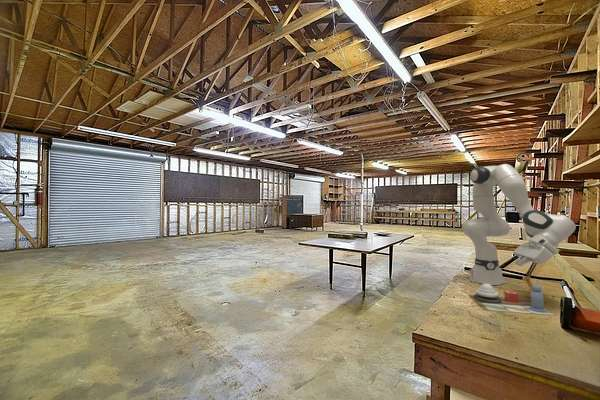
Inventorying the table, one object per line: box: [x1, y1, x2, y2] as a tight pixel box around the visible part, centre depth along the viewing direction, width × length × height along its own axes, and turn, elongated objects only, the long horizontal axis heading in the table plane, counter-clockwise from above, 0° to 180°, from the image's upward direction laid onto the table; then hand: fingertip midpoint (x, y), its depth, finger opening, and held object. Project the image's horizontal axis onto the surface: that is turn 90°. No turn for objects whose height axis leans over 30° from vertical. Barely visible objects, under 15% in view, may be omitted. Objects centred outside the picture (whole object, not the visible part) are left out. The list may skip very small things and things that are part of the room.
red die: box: [504, 290, 520, 303], centre depth 127 cm, size 4×4×4 cm
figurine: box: [523, 275, 534, 299], centre depth 132 cm, size 8×6×12 cm
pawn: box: [530, 284, 547, 312], centre depth 115 cm, size 5×5×11 cm
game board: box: [467, 293, 557, 320], centre depth 123 cm, size 22×26×2 cm
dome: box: [475, 284, 500, 298], centre depth 130 cm, size 9×9×5 cm
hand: (517, 264), depth 127 cm, fingers closed
